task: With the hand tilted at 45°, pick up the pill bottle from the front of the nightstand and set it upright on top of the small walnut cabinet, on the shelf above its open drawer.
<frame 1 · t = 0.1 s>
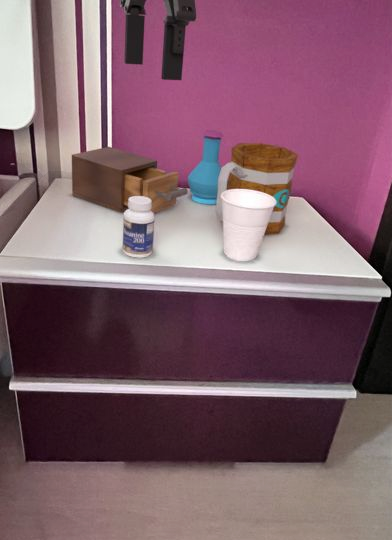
hand: (151, 71, 82), 30 cm above the table, tool pointing down, fingers open, 13 cm apart
drawer: (146, 188, 118), point 4 cm above the table, slide at 5.0 cm
cabinet: (114, 198, 124), on the table
pill bottle: (137, 253, 101), on the table
mug: (244, 227, 118), on the table
perfume bottle: (205, 200, 130), on the table
cup: (239, 256, 105), on the table
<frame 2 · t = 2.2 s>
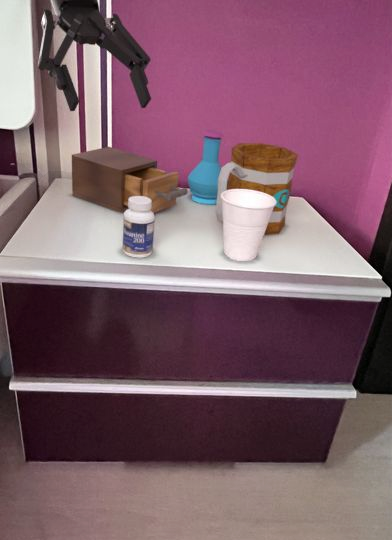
hand: (112, 105, 95), 23 cm above the table, tool tilted 45°, fingers open, 13 cm apart
nothing on the table moved.
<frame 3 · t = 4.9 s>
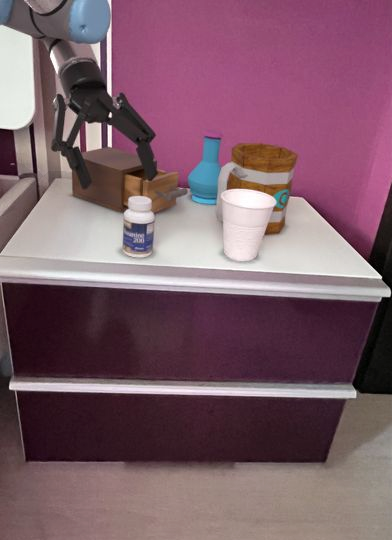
hand: (121, 181, 99), 11 cm above the table, tool tilted 45°, fingers open, 13 cm apart
nothing on the table moved.
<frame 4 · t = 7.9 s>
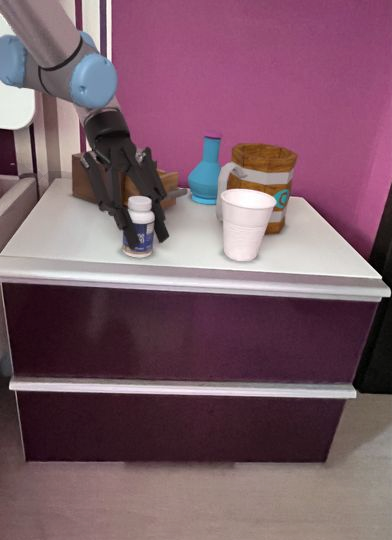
hand: (149, 242, 97), 3 cm above the table, tool tilted 45°, fingers closed on pill bottle, 5 cm apart
pill bottle: (137, 253, 101), on the table, touching gripper
everything else where it was.
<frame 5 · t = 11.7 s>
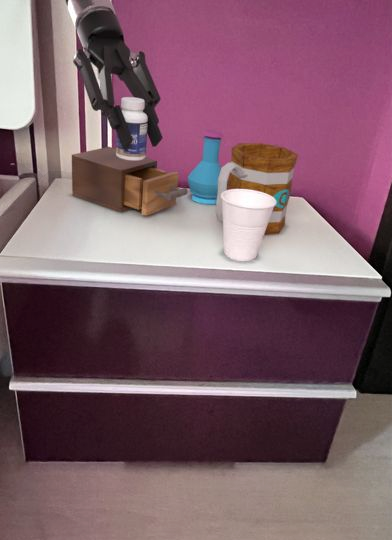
hand: (142, 143, 97), 17 cm above the table, tool tilted 45°, fingers closed on pill bottle, 5 cm apart
pill bottle: (130, 158, 102), point 14 cm above the table, touching gripper
everything else where it was.
when the fingers open (12 cm above the table, at t = 15.9 s): pill bottle stays where it is, resting on cabinet.
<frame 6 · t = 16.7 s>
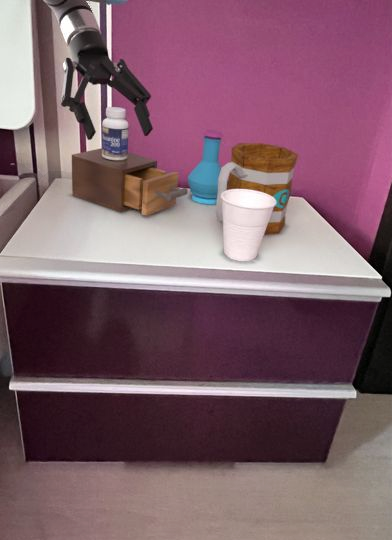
hand: (121, 134, 115), 14 cm above the table, tool tilted 45°, fingers open, 13 cm apart
pill bottle: (114, 158, 120), point 9 cm above the table, touching cabinet
everything else where it was.
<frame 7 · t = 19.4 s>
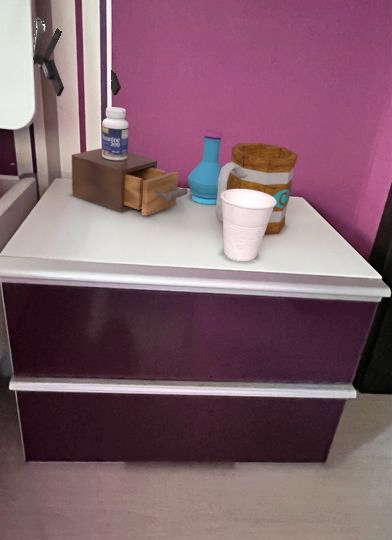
hand: (89, 92, 120), 20 cm above the table, tool tilted 45°, fingers open, 13 cm apart
nothing on the table moved.
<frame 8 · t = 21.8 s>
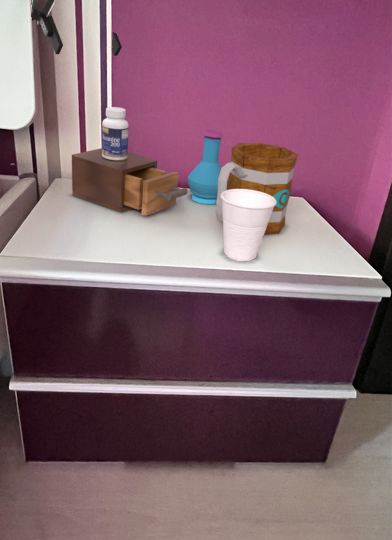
hand: (89, 50, 116), 28 cm above the table, tool tilted 45°, fingers open, 13 cm apart
nothing on the table moved.
at the end: pill bottle inside the target area on the cabinet (0.0 cm from its centre), point 8.6 cm above the cabinet's base; pill bottle tilted 0°; the gripper is holding nothing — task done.
